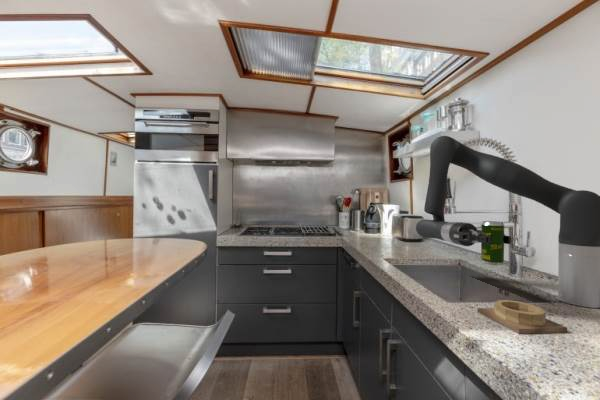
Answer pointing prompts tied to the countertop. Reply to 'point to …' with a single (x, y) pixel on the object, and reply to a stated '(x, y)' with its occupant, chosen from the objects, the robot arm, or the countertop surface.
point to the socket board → (523, 327)
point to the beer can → (493, 243)
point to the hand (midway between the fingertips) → (500, 240)
